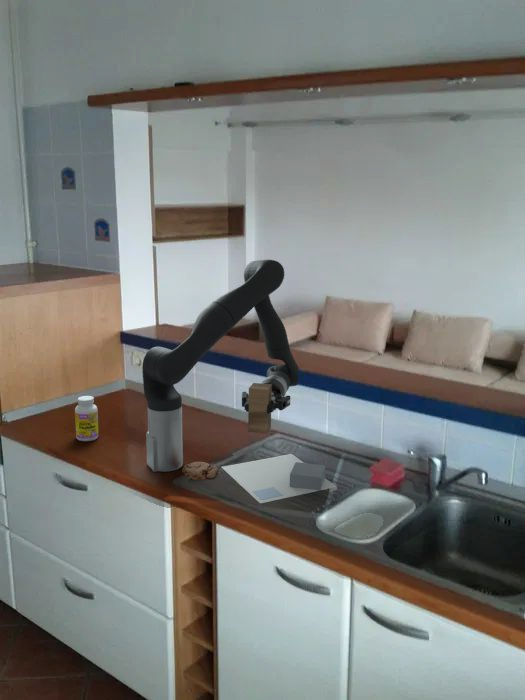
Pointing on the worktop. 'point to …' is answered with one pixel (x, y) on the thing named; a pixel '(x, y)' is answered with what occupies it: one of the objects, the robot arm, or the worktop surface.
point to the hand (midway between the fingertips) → (257, 409)
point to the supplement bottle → (86, 419)
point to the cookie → (199, 471)
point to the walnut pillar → (259, 408)
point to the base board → (279, 477)
